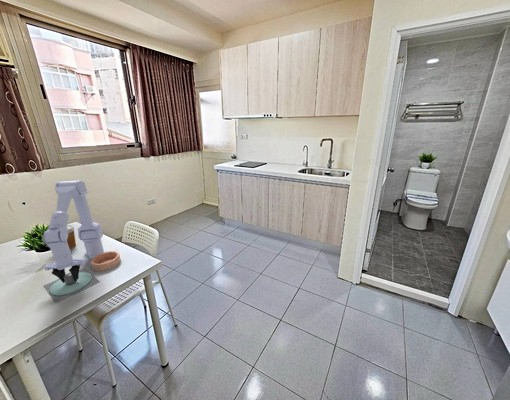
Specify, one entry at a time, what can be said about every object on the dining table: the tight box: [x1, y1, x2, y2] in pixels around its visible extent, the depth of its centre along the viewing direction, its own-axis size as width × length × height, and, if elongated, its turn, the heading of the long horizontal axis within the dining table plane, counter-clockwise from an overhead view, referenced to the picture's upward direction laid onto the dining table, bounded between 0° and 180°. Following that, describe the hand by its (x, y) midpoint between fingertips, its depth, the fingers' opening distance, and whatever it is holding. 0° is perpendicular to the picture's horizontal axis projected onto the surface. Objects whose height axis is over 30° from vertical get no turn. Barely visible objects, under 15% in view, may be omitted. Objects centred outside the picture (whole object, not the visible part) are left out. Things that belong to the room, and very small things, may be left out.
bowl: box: [90, 250, 121, 272], centre depth 115 cm, size 12×12×4 cm
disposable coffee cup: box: [67, 224, 77, 250], centre depth 131 cm, size 10×10×12 cm
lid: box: [50, 272, 93, 296], centre depth 100 cm, size 15×15×5 cm
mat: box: [43, 267, 101, 304], centre depth 101 cm, size 18×16×1 cm
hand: (70, 280), depth 100 cm, fingers closed on lid, 4 cm apart
